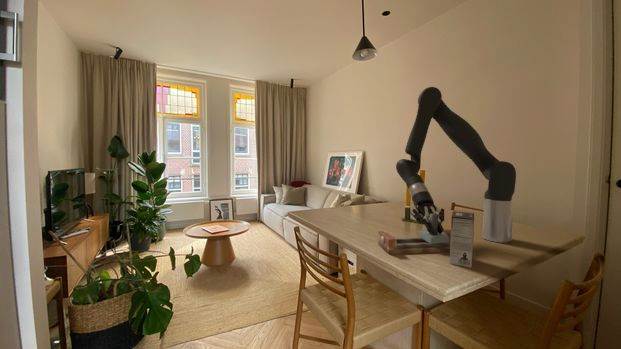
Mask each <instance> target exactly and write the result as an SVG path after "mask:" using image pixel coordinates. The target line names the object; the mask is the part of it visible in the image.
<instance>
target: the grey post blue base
mask: <svg viewBox="0 0 621 349" xmlns="http://www.w3.org/2000/svg"><path fill="white" fill-rule="evenodd" d="M429 221H430V222H429V223H431V225H432V227H433V230H434V232H433V233H432V234H430V233H429V232H428V231H427V230H418V233H419V234H418V238H422V239H424V240H425V241H427V242H429V243H430V244H434V243H448V239H449V237H448V236H446V235H444V234H442V233H441V234H439V233H438V213H437V214H433V213H431V214H430V217H429Z"/></svg>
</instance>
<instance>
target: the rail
mask: <svg viewBox="0 0 621 349" xmlns="http://www.w3.org/2000/svg"><path fill="white" fill-rule="evenodd" d="M443 229H444V230H443V232H442V234H444V235H446V236H448V237H449V239H448V243H434V244H430V243H429V242H427V241H425V240H424V239H422V238H420V237H403V238H399V237H398V238H396V237H394V236H393V235H392V234H390V233H389V232H388V231H386V230H378V231H377V232H378V233H377V234H378V235H377V236H378V237H377V238H378V239H377V240H378V243H377V244H378V246H379V247H380V248H381V249H382V250H383V251H384V252H385V253H386V254H387V255H401V254H402V255H404V254H407V255H408V254H409V255H410V254H425V253H426V254H429V253H431V254H432V253H450V246H451V228H443Z"/></svg>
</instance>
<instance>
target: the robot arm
mask: <svg viewBox="0 0 621 349" xmlns="http://www.w3.org/2000/svg"><path fill="white" fill-rule="evenodd" d="M442 95H443V94H442V91H441V90H440V89H439V88H437V87H436V86H429V87H426V88H424V89H423V90H421V91H420V93H419V94H418V97H417V104H418V106H417V113H416V117H415V120H414V123H413V125H412V128H411V131H410V133H409V136H408V139H407V142H406V145H405V149H404V153H405V154H406V155H409V157H410V159H405V158H401V159H398V161H397V162H396V165H395V168H396V172H397V174H398V175H399V177H400V179H402V180H403V182H404V183H405V184H406V187H407V189H408V193H409V195H410V198H411V201H412V204H413V206H414V208H412V210H411V211H410V215H411V216H412V217H413V218H414V220H416V221H417V222H418V224H420V225H424V226H425V228H426V231H428V232H429V233H430V234H432V233H433V232H434V230H433V227H432V225H431V223H429V222H430V221H429V220H430V214H431V213H433V214H438V233H439V234H441V233H442V232H443V230H444V229H445V228H444V226H443V225H442V224H443V222H444V221H445V209H444V208H438V207H437V206H436V205H435V203H434V201H435V200H433V197H432V195H431V193H430V191H429V188H428V187H427V185H426V184H425V182H424V180H423V177H422V175H420V174H419V172H420V170H421V165H422V164H421V163H422V162H421V159H422V151H423V148H424V145H425V142H426V139H427V133H428V131H429V127H430V124H431V122H432V119H434V121H436V123H437V124H438V126H439V127H440V128H441V130H442V131H443V132H444V134H446V136H447V137H448V139H450V140H451V142H453V143H454V145H455V146H456V147H457V148H458V150H460V151H461V152H462V153H463V154H465V155H466V156H467V157H468V158H469V159H470V160H471V161H472V162H473V164H474V165H475V166H476V168H477V169H478V171H479V172H480V173H481V175H482V176H483V177H484V178H485V179H486V180H487V181H488V184H487V189H486V191H485V192H484V195H483V196H484V197H483V199H484V200H483V217H482V218H483V219H482V221H483V222H482V239H485V240H487V241H490V242H493V243H494V242H495V243H500V244H501V243H504V244H505V243H509V242H512V241H513V226H514V224H513V220H514V219H513V218H512V202H513V196H514V194H515V191H516V182H517V181H516V180H517V171H516V167H515V166H514V165H513V163H511V162H508V161H505V160H504V161H503V160H502V161H501V160H499V159H498V158H496V157H495V156H494V155H493V154H492V153H491V152H490V151H489V150H488V149H487V147H486V145H485V143H484V140H483V139H482V137H481V135H480V134H479V133H478V131H477V130H476V129H475V128H474V127H473V126H472V124H470V123H469V122H468V121H467V120H465V119H464V118H463V117H461V116H460V115H459V114H457V113H456V112H454V111H453V110H452V109H451V108H450V107H449V106H448V105H447V103H445V101H444V100H443V96H442Z"/></svg>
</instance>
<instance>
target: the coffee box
mask: <svg viewBox="0 0 621 349" xmlns="http://www.w3.org/2000/svg"><path fill="white" fill-rule="evenodd" d="M450 220H451V224H450V226H451V228H450V230H451V246H450V252H449V265H454V266H455V265H456V266H459V267H465V268H470V269H472V268H473V254H474V253H473V252H474V236H475V234H474V233H475V232H474V231H475V214H474V212H466V211H452V214H451V219H450Z"/></svg>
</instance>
